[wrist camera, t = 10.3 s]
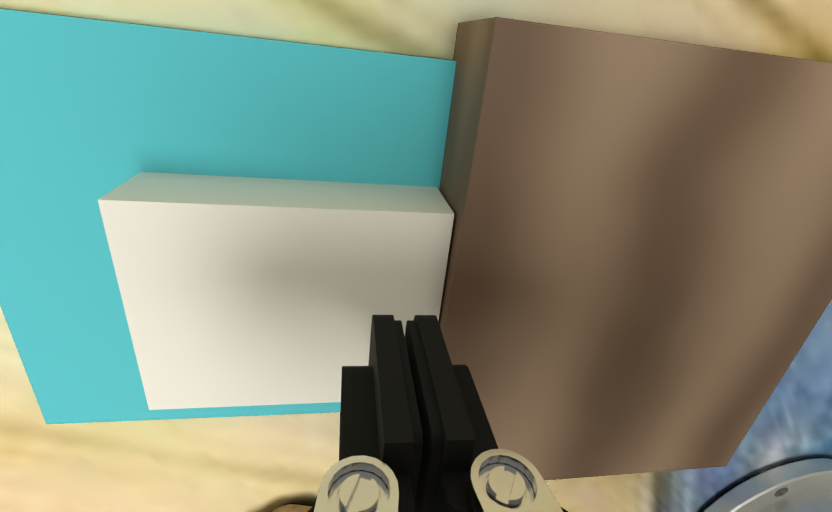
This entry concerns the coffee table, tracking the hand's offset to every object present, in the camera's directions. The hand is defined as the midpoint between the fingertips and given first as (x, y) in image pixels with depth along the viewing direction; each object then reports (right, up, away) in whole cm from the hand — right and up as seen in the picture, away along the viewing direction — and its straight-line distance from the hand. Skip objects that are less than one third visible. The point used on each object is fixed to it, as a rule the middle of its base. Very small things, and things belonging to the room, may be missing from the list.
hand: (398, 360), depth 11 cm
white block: (-4, +2, +4) cm, 5 cm away
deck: (+8, +2, +6) cm, 10 cm away
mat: (-6, +3, +3) cm, 7 cm away
